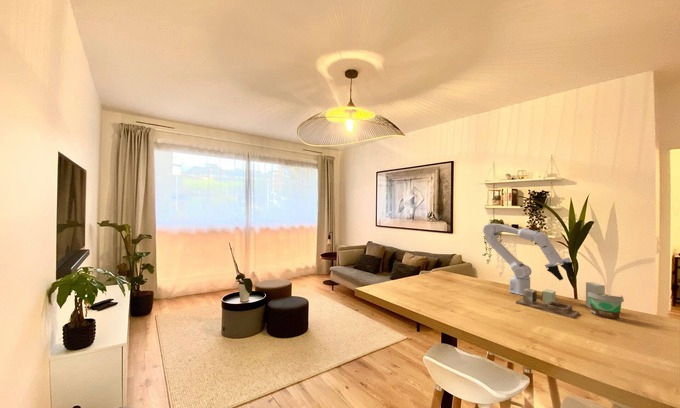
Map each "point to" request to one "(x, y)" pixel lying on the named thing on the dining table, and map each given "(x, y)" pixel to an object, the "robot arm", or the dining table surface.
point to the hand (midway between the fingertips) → (567, 278)
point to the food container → (605, 305)
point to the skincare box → (593, 290)
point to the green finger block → (548, 296)
